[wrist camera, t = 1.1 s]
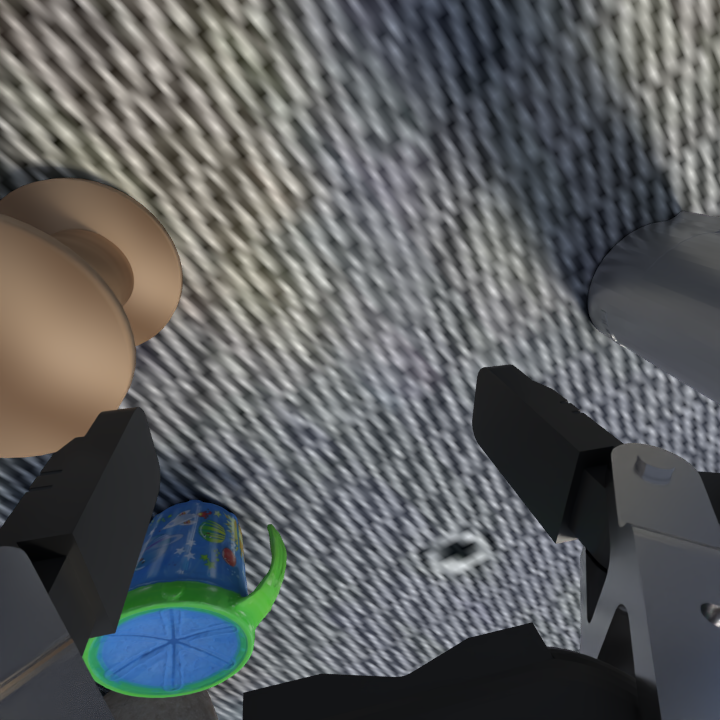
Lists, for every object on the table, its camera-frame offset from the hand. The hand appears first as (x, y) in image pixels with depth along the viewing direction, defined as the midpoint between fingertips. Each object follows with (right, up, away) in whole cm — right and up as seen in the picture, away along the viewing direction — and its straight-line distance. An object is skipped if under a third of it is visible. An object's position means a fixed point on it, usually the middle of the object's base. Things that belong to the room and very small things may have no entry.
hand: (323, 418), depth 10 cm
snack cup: (-13, -13, +26) cm, 32 cm away
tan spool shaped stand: (-15, +7, +15) cm, 22 cm away
